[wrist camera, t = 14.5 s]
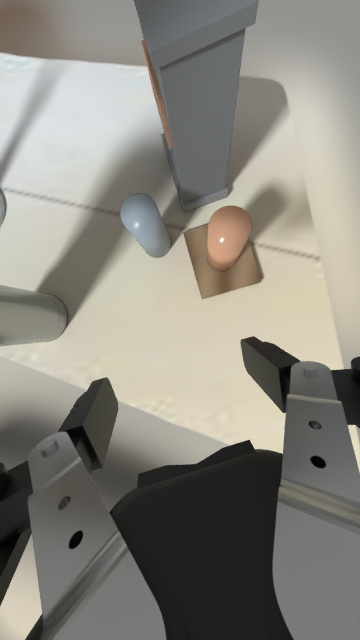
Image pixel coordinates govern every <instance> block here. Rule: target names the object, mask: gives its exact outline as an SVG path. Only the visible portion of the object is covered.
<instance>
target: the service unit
mask: <svg viewBox="0 0 360 640" xmlns="http://www.w3.org/2000/svg"><path fill="white" fill-rule="evenodd" d="M134 3H135V6H136V9H137V13H138V16H139V20H140V25H141V29H142V33H143V38H144V40H143V41H142V45H143V49H144V54H145V58H146V62H147V67H148V71H149V75H150V80H151V84H152V89H153V93H154V97H155V100H156V104H157V107H158V111H159V114H160V118H161V121H162V125H163V129H164V133H163V134H162V138H163V143H164V146H165V150H166V153H167V157H168V160H169V164H170V167H171V171H172V174H173V178H174V181H175V185H176V188H177V192H178V195H179V199H180V202H181V206H182V209H183V213H184V212H187V211H189V210H192V209H195V208H198V207H201V206H204V205H206V204H209V203H212V202H215V201H218V200H221V199H223V198H226V197H227V196H228V189H227V185H226V174H227V166H228V159H229V151H230V143H231V135H232V128H233V120H234V112H235V105H236V97H237V89H238V81H239V73H240V66H241V58H242V50H243V43H244V35H245V28H246V27H249V26H251V25H253V24H255V20H256V14H257V7H258V0H134Z"/></svg>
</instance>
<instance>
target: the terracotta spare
mask: <svg viewBox="0 0 360 640" xmlns="http://www.w3.org/2000/svg"><path fill="white" fill-rule="evenodd" d="M251 230H252V221H251V218H250V216H249V214H248V213H247V212H246V211H245V210H244V209H242V208H240V207H237V206H225V207H222V208H220V209H219V210H217V211H216V212H215V213H214V214H213V215H212V217H211V218H210V221H209V224H208V239H207V262H208V264H209V266H210V267H211V268H212V269H214V270H216V271H227V270H229V269H230V268H232V267H233V266H234V264H235V262H236V260H237V258H238V257H239V255H240V253H241V251H242V249H243V247H244V245H245V243H246V241H247V240H248V238H249V236H250V234H251Z"/></svg>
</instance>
